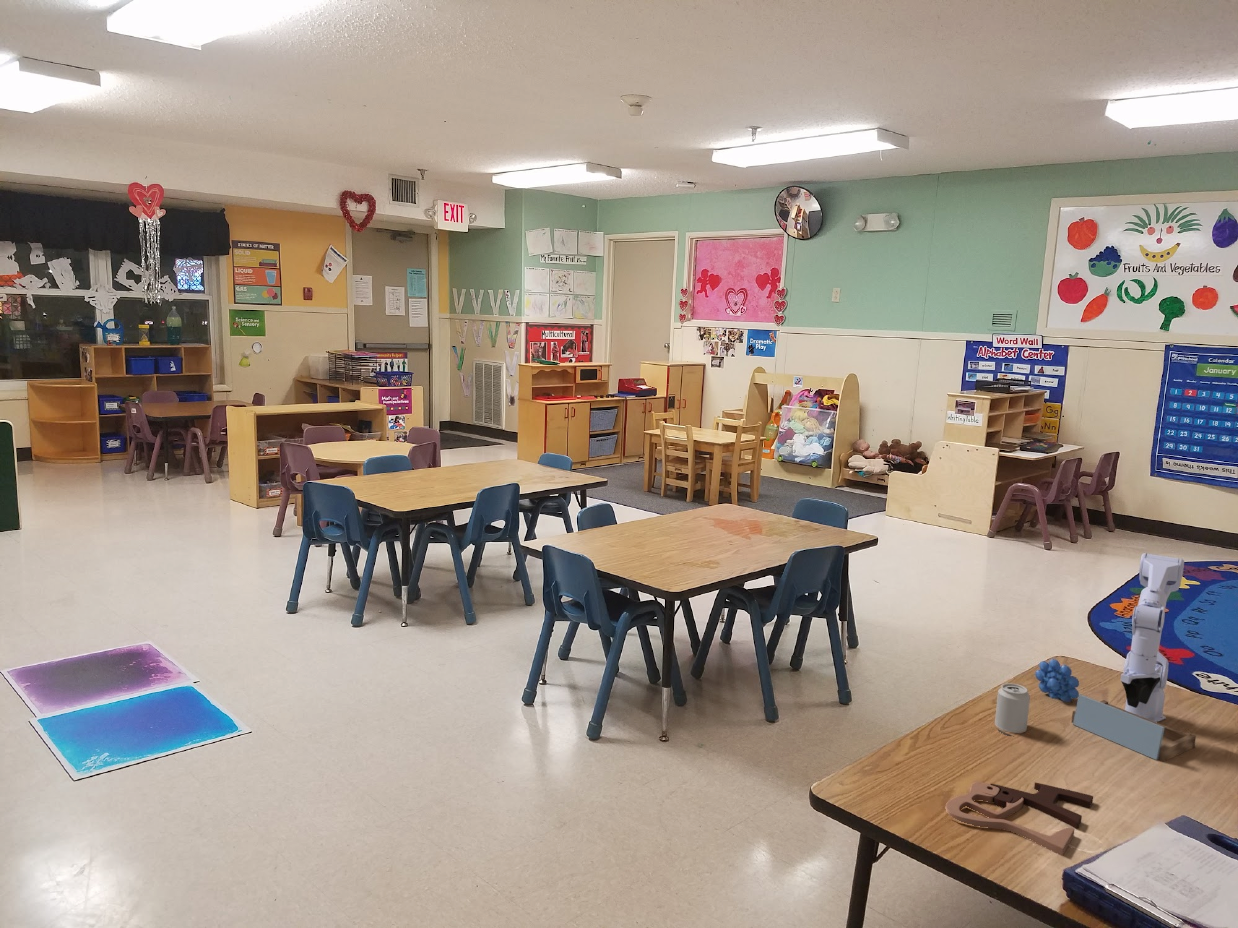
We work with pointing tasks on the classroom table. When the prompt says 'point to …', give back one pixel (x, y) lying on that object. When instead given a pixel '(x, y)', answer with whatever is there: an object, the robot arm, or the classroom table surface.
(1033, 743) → the classroom table surface
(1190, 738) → the tray
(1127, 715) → the panel
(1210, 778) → the classroom table surface
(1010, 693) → the can
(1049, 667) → the grapes
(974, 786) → the wood carving
